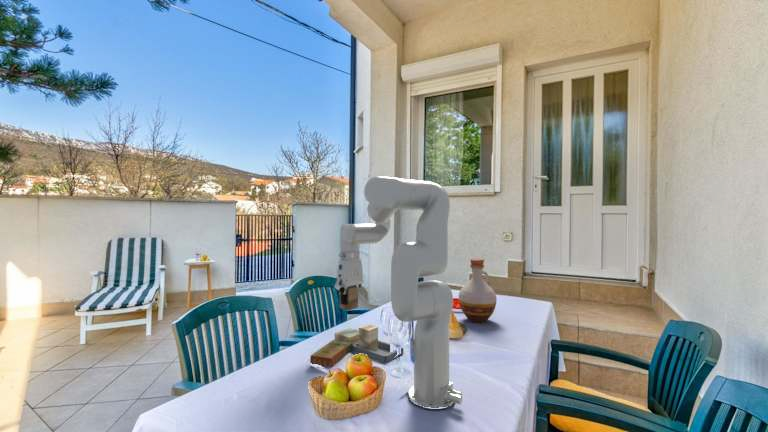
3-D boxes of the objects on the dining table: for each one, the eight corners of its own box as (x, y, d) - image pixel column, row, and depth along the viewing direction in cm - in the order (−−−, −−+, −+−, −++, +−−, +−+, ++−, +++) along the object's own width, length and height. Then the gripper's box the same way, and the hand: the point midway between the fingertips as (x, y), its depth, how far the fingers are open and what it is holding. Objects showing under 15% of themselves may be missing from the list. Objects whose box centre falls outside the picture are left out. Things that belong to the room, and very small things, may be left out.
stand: (364, 345, 127) (364, 331, 127) (349, 351, 121) (349, 337, 121) (349, 340, 132) (349, 327, 132) (334, 346, 126) (334, 332, 126)
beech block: (377, 348, 121) (378, 327, 121) (368, 353, 117) (368, 330, 117) (367, 345, 124) (367, 324, 124) (358, 349, 120) (358, 327, 120)
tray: (403, 356, 117) (403, 347, 117) (385, 365, 109) (385, 356, 109) (369, 345, 127) (369, 337, 127) (351, 353, 119) (351, 345, 119)
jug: (474, 312, 173) (474, 255, 174) (505, 320, 160) (505, 258, 160) (450, 319, 161) (450, 258, 161) (482, 328, 147) (482, 261, 148)
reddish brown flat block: (309, 367, 108) (309, 354, 108) (332, 350, 123) (332, 338, 123) (332, 371, 105) (332, 358, 106) (353, 352, 121) (353, 341, 121)
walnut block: (357, 307, 128) (358, 286, 128) (348, 310, 124) (349, 288, 124) (348, 305, 131) (349, 284, 131) (339, 307, 127) (340, 286, 127)
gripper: (340, 258, 118) (339, 309, 118) (371, 254, 132) (371, 300, 131) (326, 256, 123) (326, 305, 123) (357, 253, 136) (357, 297, 136)
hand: (349, 302), depth 127 cm, fingers closed on walnut block, 5 cm apart
